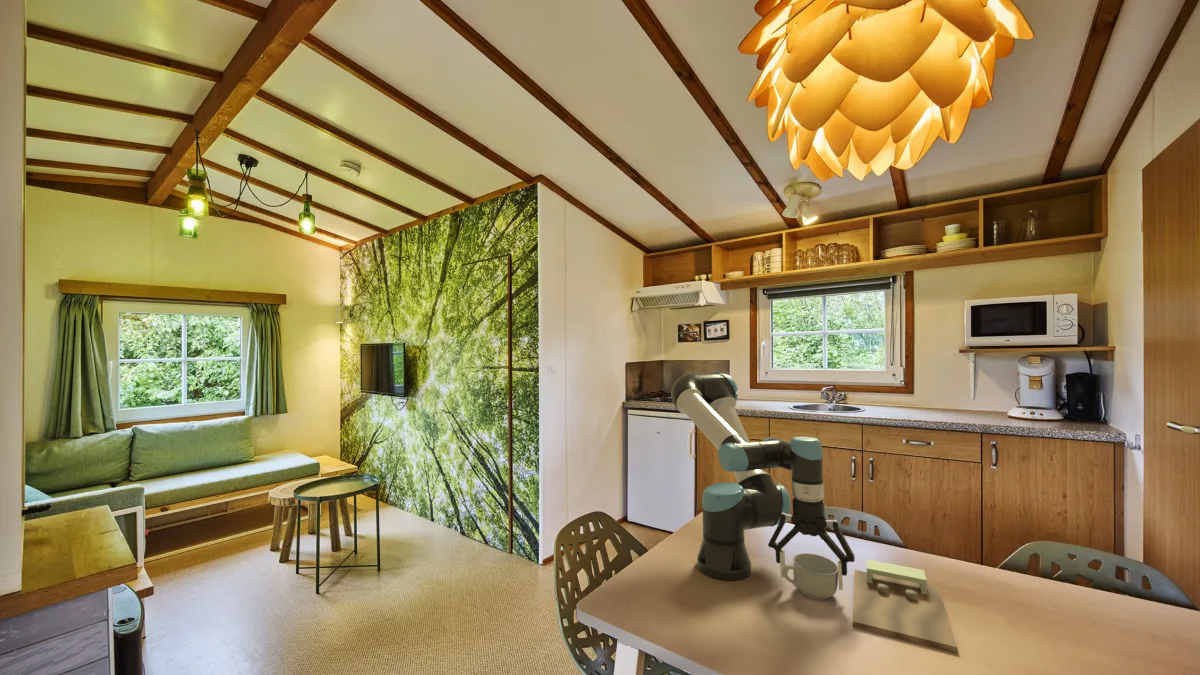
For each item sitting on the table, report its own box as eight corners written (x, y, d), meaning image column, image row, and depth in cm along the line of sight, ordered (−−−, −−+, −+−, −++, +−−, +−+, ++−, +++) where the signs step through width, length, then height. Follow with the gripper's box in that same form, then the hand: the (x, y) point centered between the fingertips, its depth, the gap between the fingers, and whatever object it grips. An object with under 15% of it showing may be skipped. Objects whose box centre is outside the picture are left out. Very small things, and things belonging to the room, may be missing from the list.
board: (852, 626, 105) (852, 614, 105) (854, 574, 129) (854, 564, 129) (957, 653, 95) (957, 639, 95) (938, 591, 119) (938, 580, 120)
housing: (867, 582, 122) (866, 568, 122) (867, 572, 127) (866, 559, 127) (927, 595, 115) (926, 580, 115) (924, 584, 121) (923, 570, 121)
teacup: (829, 583, 124) (828, 553, 124) (846, 606, 113) (846, 573, 113) (775, 581, 125) (775, 551, 125) (788, 603, 114) (787, 570, 115)
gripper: (755, 495, 123) (758, 576, 122) (863, 509, 110) (867, 599, 109) (760, 488, 129) (763, 565, 128) (863, 500, 117) (866, 586, 116)
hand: (811, 581), depth 119 cm, fingers open, 13 cm apart
